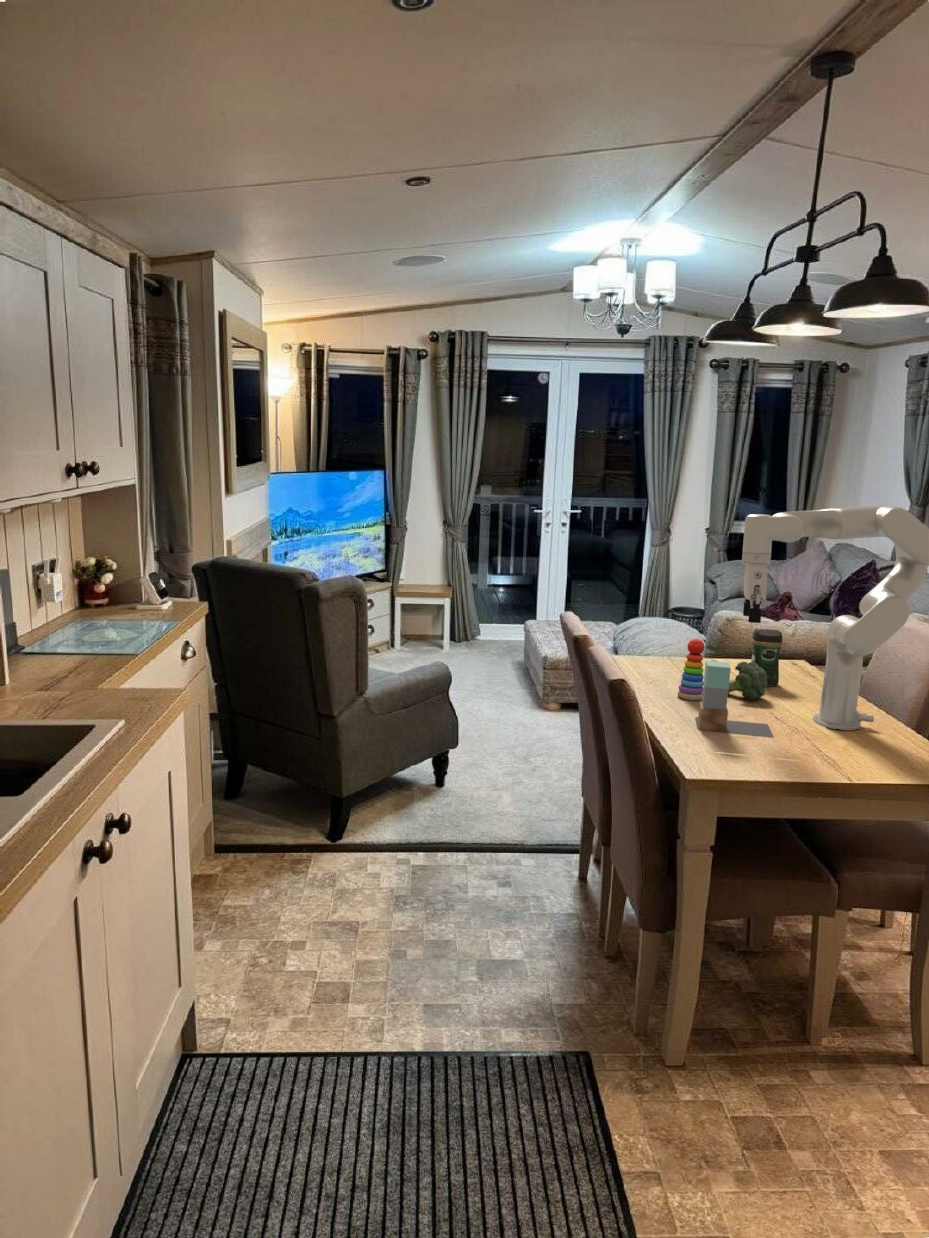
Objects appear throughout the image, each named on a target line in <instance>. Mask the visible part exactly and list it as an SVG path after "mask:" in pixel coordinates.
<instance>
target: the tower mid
mask: <svg viewBox="0 0 929 1238" xmlns="http://www.w3.org/2000/svg"><path fill="white" fill-rule="evenodd" d="M702 687H703V692H702V693H703V695H702V699H701V702H702V705H703V708H704V709H715V710H726V707H727V706H728V705H727V704H728V696H729V694H728V689H720V688H708V687H705V684H704V685H703V686H702Z"/></svg>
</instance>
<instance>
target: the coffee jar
mask: <svg viewBox="0 0 929 1238" xmlns="http://www.w3.org/2000/svg"><path fill="white" fill-rule="evenodd" d="M751 644H752V656H751V659H750V660H751V661H750V662H753V663H757V664H758V665H759V667H761V668H762V669H763V670H764V671H765V672H766V674H767V687H772V686H773V687H776V686H778V685H779V682H780V681H779V679H780V671H779V667H780V665H779V663H780V661H779V659H780V658H779V657H780V651H781V647H783V632H782V631H780V630H778V629H769V628H766V629H765V628H764V629H763V628H762V629H761V628H758V629H757V628H756V629H754V630H753V632H752V637H751Z"/></svg>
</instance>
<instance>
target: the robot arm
mask: <svg viewBox="0 0 929 1238" xmlns="http://www.w3.org/2000/svg"><path fill="white" fill-rule="evenodd" d="M743 530H744V531H743V542H742V543H743V545H742V555H741V556H742V557H741V564H742V565H745V567H744V580H743V596H744V602H743V609H742V612H743V613H742V616H743V617H748V623H751V624H752V623H754V624H755V623H756V624H760V623H761V621H762V612H763V611H762V601H764V602H765V601H766V600H767V589H768V588H767V586H768V585H767V584H768V566H771V558H772V543H773V541H775V542H782V543H794V542H797V541H799V540H800V539H802V538H823V539H828V540H848V539H849V540H852V539H865V538H866V539H867V538H868V539H869V538H881V537H882V538H887V539H889V540H890V541H891V542H892V543H894V544H895V545H894V546H895V547H894V548H895V549H894V550H895V563H894V566H893V568H892V569H891V570H890V572H888V574H887V575H886V576H885V577H884V578H883V579H882V580H881V581H880V582H879V583H877V584H876V585H875V586H874V587H873V588H872V589H870V591H869V592H867V593H865V595H864V596H863V597H862V598H861V600H860V602H859V612H860V613H861V615H862V616H861V617H860V618H858V617H856V616H854V615H851V614H843V615H840V616H837V617H834V619H832V620H831V622H830V624H829V625H828V628H827V630H826V660H825V667H824V674H823V683H822V688H821V689H822V691H821V699H820V708H819V712H818V713H816V714H815V715H813V716H812V721H813V722H814V723H815V724H817V725H820V726H821V727H822V726H823V727H824V728H827V729H832V730H836V729H839V731H855V730H856V729H857V730H859V729H860V728H861V723H862V722H868V723H873V722H874V720H875V718H874V715H870V714H868V713H863V712H859V711H858V709H857V707H858V701H859V695H860V694H859V693H860V687H861V686H860V685H861V679H862V678H861V677H862V674H863V673H862V672H863V664H864V663H863V662H864V660H863V659H864V657H867V656H869V655H871V654H872V653H874V652H876V651H877V650H879V648H880V647H882V646H883V645H885V643H887V641H888V640H889V639H890V640H891V638H892V637H893V636H894V635H895V634H896V633H897V632H899V630H901V629H902V628H903V627H904V626H905V624H906V623H907V622H908V619H909V617H910V614H911V607H910V603H909V602H908V601H909V600H910V599H911V597H913V596H914V594H915V593H917V592H918V590H919V589H920V588H921V587H922V585H923V583H924V582H925V580H926V579H925V578H926V574H927V568H928V567H929V527H928V526H926V525H925V524H924V523H923V522H922V521H921V520H919V519H918V518H917V517H916V516H914V515H913V514H912V513H910V512H909V511H908V510H907V509H904V508H902V507H899V506H894V505H893V506H892V505H871V506H870V505H869V506H868V505H867V506H859V507H858V506H857V507H843V508H841V507H840V508H827V509H819V510H818V509H817V510H816V509H815V510H813V509H812V510H799V511H796V510H795V511H783V512H777V513H775V514H773V515H770V514H764V513H761V514H760V513H753V514H748V515H747V516H746V517H745V520H744V529H743Z"/></svg>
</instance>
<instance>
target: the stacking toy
mask: <svg viewBox="0 0 929 1238" xmlns="http://www.w3.org/2000/svg"><path fill="white" fill-rule="evenodd" d="M687 651H688V652H689V653H687V654H686V660H685V661H684V665H685V666H684V667H683V669H682V670H683V672H682V674H681V677H682V678H681V679H680V684H679V685H678V691H677V697H679V698H680V697H681V698H680V699H682V698H683V699H684V700H687V701H702V695H703V685H704V674H703V673H704V668H703V666H704V664H703V660H704V656H703V654H702V653H703V652H704V651H705V643H704V642H703V641H702V640H701V639H700V638H692V639H691V640H689V642H688V643H687ZM683 699H682V700H683Z"/></svg>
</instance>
